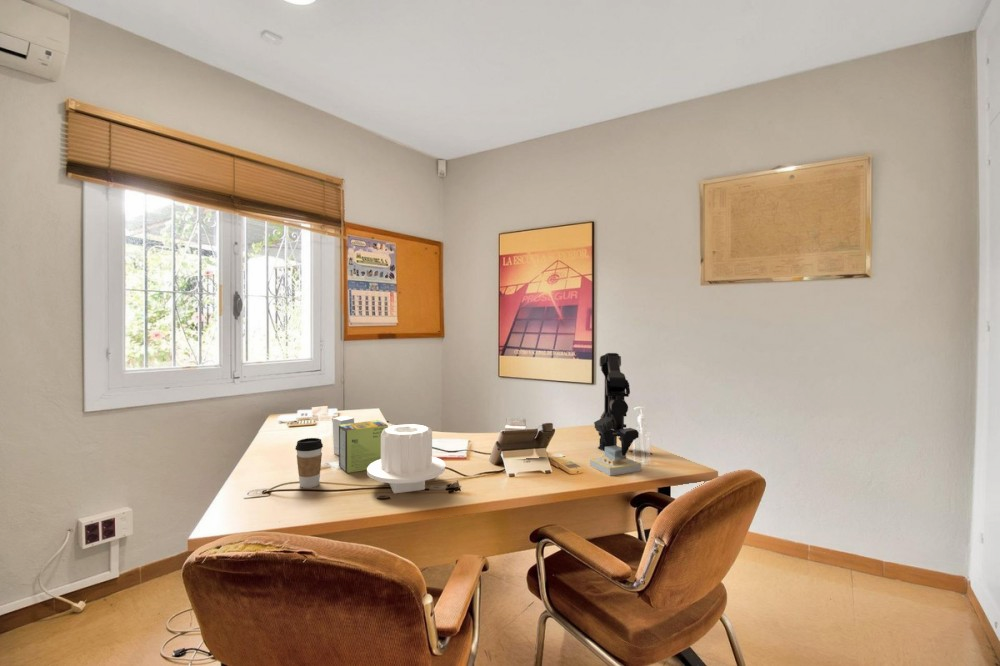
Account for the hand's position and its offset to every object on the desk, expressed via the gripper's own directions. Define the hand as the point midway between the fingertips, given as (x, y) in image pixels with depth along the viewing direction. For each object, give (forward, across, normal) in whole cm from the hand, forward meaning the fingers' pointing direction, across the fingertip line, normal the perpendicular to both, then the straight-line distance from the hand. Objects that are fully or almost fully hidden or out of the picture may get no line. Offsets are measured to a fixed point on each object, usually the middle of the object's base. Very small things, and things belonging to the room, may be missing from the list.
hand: (615, 452), depth 172 cm
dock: (+6, 0, 0) cm, 6 cm away
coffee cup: (+6, -26, -104) cm, 107 cm away
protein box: (+6, -39, -85) cm, 94 cm away
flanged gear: (+6, -12, -75) cm, 76 cm away
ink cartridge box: (+6, -29, -27) cm, 40 cm away
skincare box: (+6, -57, -90) cm, 107 cm away
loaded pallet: (+4, 0, 0) cm, 4 cm away
